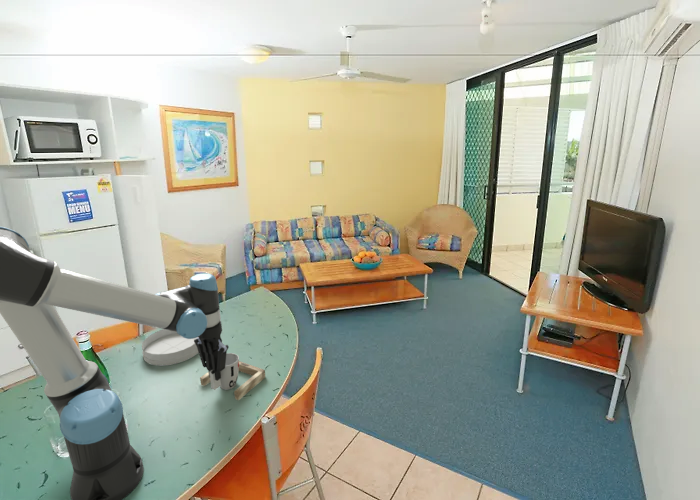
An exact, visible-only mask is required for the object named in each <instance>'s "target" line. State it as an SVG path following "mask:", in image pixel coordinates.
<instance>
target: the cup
mask: <svg viewBox="0 0 700 500" xmlns="http://www.w3.org/2000/svg"><path fill="white" fill-rule="evenodd" d="M239 359H240V357H239V355H238V354H237V353H233V352H228V353H226V363H225V369H223V370H222V371H221V372H220V373H221V379H220V380H221V386H220V387H219V388H220V389H222V390H226V391H227V390H231V389H233V388H235V387H236V385H237V381H238V377H239V372H240V371H239V361H240V360H239Z"/></svg>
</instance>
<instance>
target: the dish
mask: <svg viewBox="0 0 700 500" xmlns="http://www.w3.org/2000/svg"><path fill="white" fill-rule="evenodd" d="M197 338H198V337H196V338H193V339H187V338H184V337H182V336H180V335H179V334H178V333H177V332H175V331H170V330H166V329H160V330H158V331H155V332H154V333H152V334H150V335H148V336H147V337H146V338H145V339H144V341H142V345H141V349H142V350H141V351H142V352H141V353H142V357H143V360H144V362H146V363H147V364H149V365H152V366H170V365H175V364H176V365H177V364H179V363H182V362H186V361H187V360H190V359H191V358H193V357H195V356H196V355H197V354H199V352H198V349H197V346H196V344H195V342H194V340H195V339H197Z"/></svg>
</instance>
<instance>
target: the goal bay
mask: <svg viewBox="0 0 700 500" xmlns="http://www.w3.org/2000/svg"><path fill="white" fill-rule="evenodd" d="M238 372H241V373H244V374H247V375H249V376H251V377H250V378H249V379H247V380H245V382H244V383H242V384H241V385H240V386H239V387H237V388H236V389H235V390H234V391H233V393H234V394H233V396H234V399H235V400H237V401H240V400H241V399H242V398H243V397H245V395H247V394H248V393H249V392H250V391H251V390H253V388H255V387H256V386H257V385H258V384H260V383H261V382H262V381H263V380H264V379H266V370H265V369H263V368H260V367H257V366H254V365H251V364H249V363H247V362H243V361H240V360H239V371H238ZM199 380H200V386H203V387H206V386H207V385H208V384H211V381H210V377H209V371H207V372H206V373H204V374H203V375H202V376H200V377H199Z"/></svg>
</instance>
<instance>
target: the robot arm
mask: <svg viewBox="0 0 700 500" xmlns="http://www.w3.org/2000/svg"><path fill="white" fill-rule="evenodd" d="M29 246H30V245H29V243H28V241H27V240H26V238H25V237H24V236H23V235H21V234H20V233H19V232H17V231H16V230H14V229H11V228H8V227H4V226H0V315H1V316H2V318H3V320H4V321H5V322H6V324H7V325H8V327H9V329H11V331H12V333H13V334H14V336H15V338H16V339H17V340H18V342H19V343H20V344H21V346H22V347H23V349H24V350H25V351H26V353H27V355H28V357H29V358H30V359H31V360H32V362H33V364H34V365H35V367H36V368H37V369H38V371H39V372H40V374H41V375H42V377H43V378H44V379H45V381H46V385H45V386H44V390H43V393H44V394H45V395H46V398H47V399H48V401H49V402H50V403H51V405H52V406H53V408H54V409H55V411H56V412H57V414H58V417H59V429H60V432H61V435H62V436H63V438H64V443H65V446H66V449H67V453H68V456H69V459H70V462H71V463H70V464H71V466H72V469H73V472H72V478H71V482H70V483H71V484H70V490H69V496H70V499H71V500H123V499H125V498H126V497H127V496H128V495H130V494H131V493H132V492H133V491H134V490H135V489H136V487H138V485H139V483H140V482H141V479H143V476H144V471H145V468H144V463H143V458H142V457H141V455H140V454H139V453H138V451H136V450H135V448H134V447H133V446H132V445H131V442H130V439H129V433H128V429H127V425H126V421H125V417H124V416H125V415H124V407H123V404H122V401H121V399H120V397H119V395H118V394H117V393H116V392H114V391H113V390H112V388H111V386H110V382H109V379H108V378H107V377H106V374H104V373H103V372H102V371H101V369H100V367H99V366H98V364H97V363H96V362H94V361H92V360H90V361H88V360H86V358H85V357H84V355H83V353H82V352H81V350H80V348H79V346H78V345H77V343H76V341H75V340H74V338H73V336H72V335H71V333H70V331H69V330H68V328H67V326H66V325H65V323H64V321H63V320H62V318H61V317H60V315H59V313H58V312H57V310H56V308H55V307H58V308H64V309H67V310H72V311H76V312H82V313H87V314H91V315H96V316H100V317H105V318H110V319H114V320H115V319H116V320H120V321H124V322H128V323H133V324H138V325H144V326H148V327H153V328H158V329H160V330H162V329H166V330H170V331H175V332H177V333H178V334H179V335H180V336H182V337H184V338H187V339H193V338H196V337H198V338H197V339H195V340H194V342H195V344H196V346H197V349H198V352H199V353H198V354H199V357H200V361H201V365H202V367H203V368H206V370H207V372H209V377H210V381H211V382H210V387H211V390H214V391H216V389H218V388H221V387H220V386H221V380H220V379H221V373H220V372H221V371H222V370H223V369H225V363H226V353H227V352H228V349H229V344H224V343H223V340H222V337H221V334H222V333H223V327H222V320H221V318H222V317H221V309H220V300H219V299H220V298H219V288H218V282H217V279H216V276H215V275H214V274H212V273H197V274H195V275H193V276H190V278H189V282H188V283H189V284H188V285H185V286H182V287H177V288H173V289H170V290H169V289H168V290H164V291H159V292H157V293H150V292H147V291H144V290H140V289H136V288H133V287H129V286H125V285H122V284H117V283H115V282H111V281H108V280H105V279H104V280H103V279H100V278H97V277H93V276H91V275H90V276H89V275H86V274H82V273H79V272H74V271H71V270H67V269H64V268H60V266H59V265H58V263H57V262H56V261H54V260H51V259H47V258H44V257H42V256H39V255H36V254H35V253H33V252H32V251H31V250H30V247H29Z"/></svg>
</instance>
